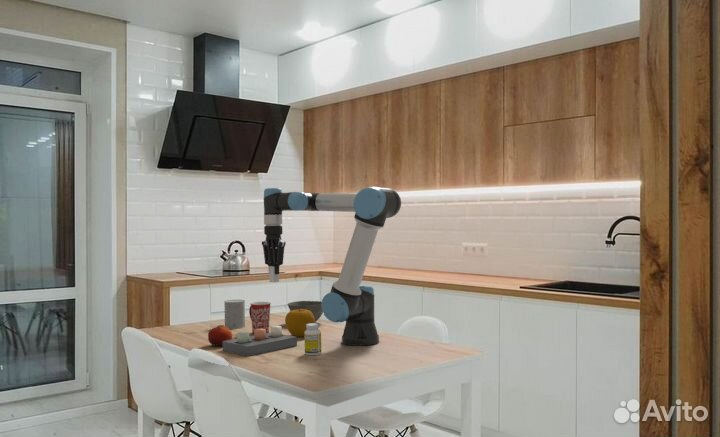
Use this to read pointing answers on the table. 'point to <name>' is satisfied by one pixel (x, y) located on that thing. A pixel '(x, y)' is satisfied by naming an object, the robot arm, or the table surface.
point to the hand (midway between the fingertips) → (274, 281)
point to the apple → (298, 321)
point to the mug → (260, 315)
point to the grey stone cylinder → (234, 314)
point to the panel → (259, 345)
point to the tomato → (219, 335)
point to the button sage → (243, 337)
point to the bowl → (308, 307)
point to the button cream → (276, 331)
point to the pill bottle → (312, 339)
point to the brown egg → (260, 334)
